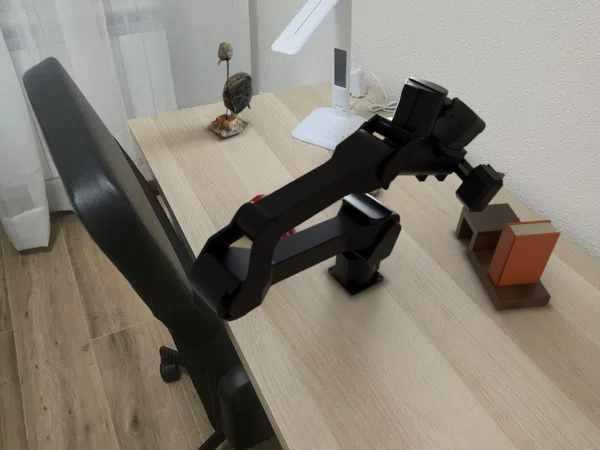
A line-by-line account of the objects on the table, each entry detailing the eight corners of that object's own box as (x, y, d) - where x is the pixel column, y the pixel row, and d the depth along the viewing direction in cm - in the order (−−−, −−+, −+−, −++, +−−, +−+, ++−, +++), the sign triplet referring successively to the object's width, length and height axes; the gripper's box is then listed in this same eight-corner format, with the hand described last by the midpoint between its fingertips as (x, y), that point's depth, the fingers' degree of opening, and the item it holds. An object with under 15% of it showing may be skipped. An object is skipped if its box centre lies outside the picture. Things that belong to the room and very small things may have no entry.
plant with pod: (264, 127, 120) (263, 37, 107) (218, 142, 115) (211, 49, 102) (245, 111, 125) (241, 24, 112) (200, 125, 120) (191, 35, 107)
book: (495, 286, 83) (514, 237, 77) (487, 272, 85) (505, 223, 79) (538, 282, 84) (560, 233, 78) (529, 268, 86) (550, 219, 80)
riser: (497, 310, 82) (508, 282, 78) (454, 233, 95) (462, 206, 91) (546, 305, 83) (560, 277, 79) (498, 229, 96) (507, 202, 92)
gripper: (489, 153, 68) (558, 155, 77) (407, 69, 79) (477, 80, 88) (441, 217, 75) (510, 212, 84) (372, 132, 85) (440, 136, 94)
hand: (484, 157), depth 87 cm, fingers open, 9 cm apart
